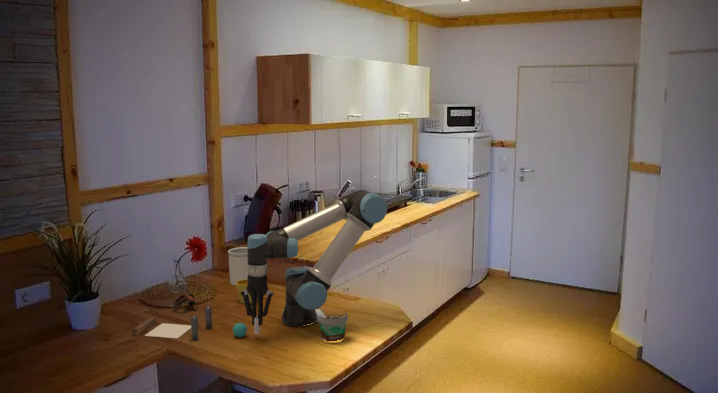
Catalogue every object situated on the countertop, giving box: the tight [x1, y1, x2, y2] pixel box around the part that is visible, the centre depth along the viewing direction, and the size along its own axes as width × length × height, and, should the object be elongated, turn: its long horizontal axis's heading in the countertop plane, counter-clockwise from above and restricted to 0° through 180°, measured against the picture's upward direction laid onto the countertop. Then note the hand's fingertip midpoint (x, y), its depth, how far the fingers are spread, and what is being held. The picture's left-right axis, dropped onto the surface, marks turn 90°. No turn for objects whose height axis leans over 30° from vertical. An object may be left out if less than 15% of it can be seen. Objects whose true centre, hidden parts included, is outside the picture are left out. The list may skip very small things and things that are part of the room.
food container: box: [317, 311, 349, 341], centre depth 227 cm, size 12×6×10 cm, turn 117°
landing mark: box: [144, 322, 191, 339], centre depth 236 cm, size 14×14×1 cm
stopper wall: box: [132, 316, 157, 336], centre depth 238 cm, size 2×14×2 cm, turn 170°
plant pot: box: [235, 279, 252, 305], centre depth 274 cm, size 10×10×10 cm
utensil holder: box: [227, 246, 249, 287], centre depth 305 cm, size 15×15×18 cm
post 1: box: [190, 315, 199, 341], centre depth 227 cm, size 3×3×9 cm
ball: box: [232, 322, 248, 338], centre depth 231 cm, size 6×6×6 cm
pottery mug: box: [172, 292, 198, 312], centre depth 263 cm, size 12×10×8 cm
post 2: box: [204, 305, 213, 330], centre depth 239 cm, size 3×3×9 cm
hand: (257, 332), depth 229 cm, fingers closed
